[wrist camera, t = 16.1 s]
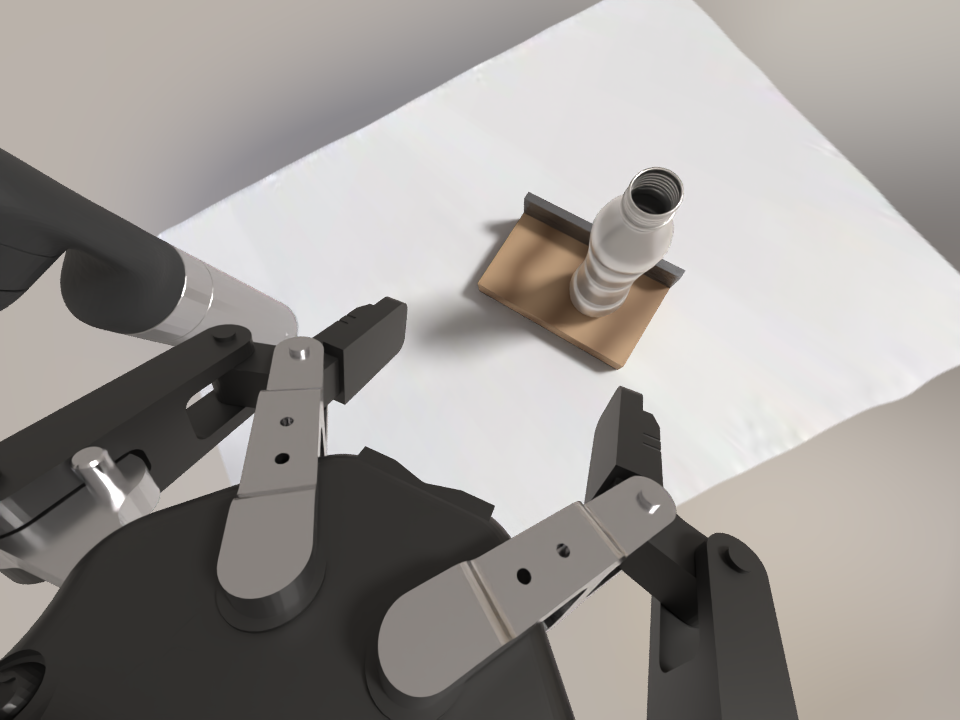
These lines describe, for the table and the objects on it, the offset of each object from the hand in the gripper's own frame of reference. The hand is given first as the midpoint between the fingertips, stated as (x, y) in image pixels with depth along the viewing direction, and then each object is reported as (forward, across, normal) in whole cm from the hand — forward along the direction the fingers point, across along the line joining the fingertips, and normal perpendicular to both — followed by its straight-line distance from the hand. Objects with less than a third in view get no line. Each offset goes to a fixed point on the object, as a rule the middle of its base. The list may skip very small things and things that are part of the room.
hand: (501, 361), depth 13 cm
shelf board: (+35, -1, +11) cm, 37 cm away
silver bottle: (+33, -4, +10) cm, 34 cm away
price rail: (+37, -2, +5) cm, 38 cm away
